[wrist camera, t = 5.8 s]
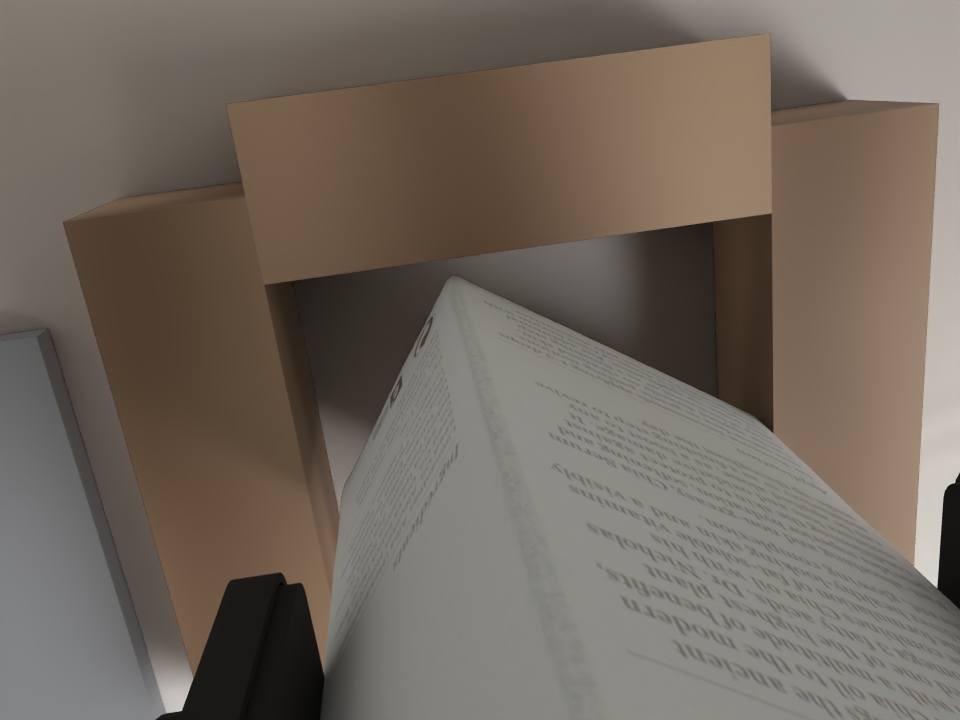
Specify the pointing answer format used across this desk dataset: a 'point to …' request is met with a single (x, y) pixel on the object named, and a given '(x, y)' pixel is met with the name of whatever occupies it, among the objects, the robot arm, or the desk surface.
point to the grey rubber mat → (59, 561)
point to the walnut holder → (501, 227)
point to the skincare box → (607, 551)
